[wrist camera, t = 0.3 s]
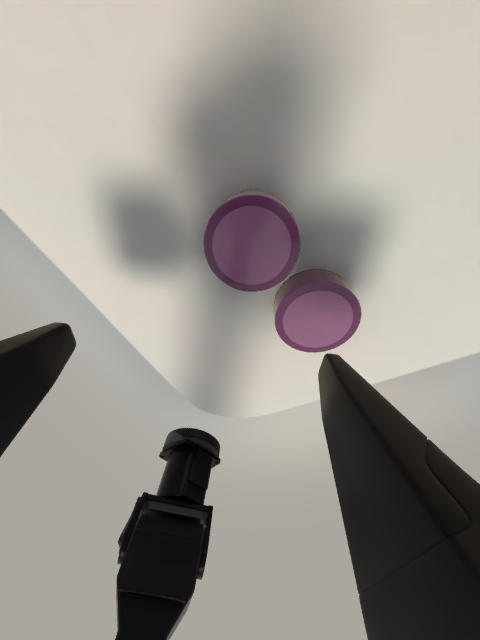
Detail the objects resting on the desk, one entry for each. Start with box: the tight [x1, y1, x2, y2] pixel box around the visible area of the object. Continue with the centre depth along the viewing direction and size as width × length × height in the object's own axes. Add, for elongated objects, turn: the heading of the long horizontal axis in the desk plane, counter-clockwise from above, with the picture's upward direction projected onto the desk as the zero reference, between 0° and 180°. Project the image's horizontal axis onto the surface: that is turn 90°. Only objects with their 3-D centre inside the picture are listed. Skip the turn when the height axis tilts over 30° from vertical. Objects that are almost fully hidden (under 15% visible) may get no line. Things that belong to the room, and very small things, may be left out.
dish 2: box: [274, 270, 361, 352], centre depth 20 cm, size 6×6×2 cm
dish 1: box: [204, 191, 300, 291], centre depth 17 cm, size 6×6×2 cm
